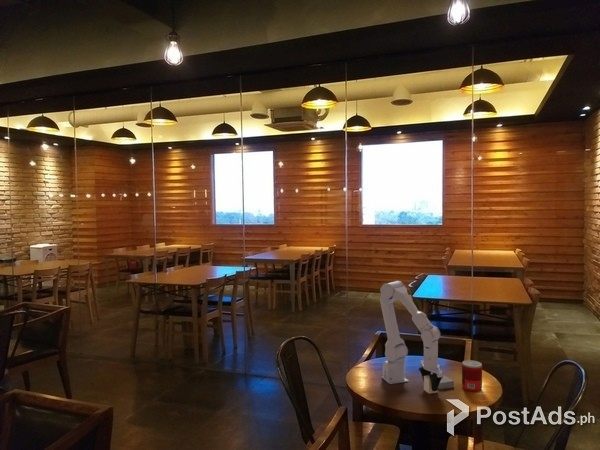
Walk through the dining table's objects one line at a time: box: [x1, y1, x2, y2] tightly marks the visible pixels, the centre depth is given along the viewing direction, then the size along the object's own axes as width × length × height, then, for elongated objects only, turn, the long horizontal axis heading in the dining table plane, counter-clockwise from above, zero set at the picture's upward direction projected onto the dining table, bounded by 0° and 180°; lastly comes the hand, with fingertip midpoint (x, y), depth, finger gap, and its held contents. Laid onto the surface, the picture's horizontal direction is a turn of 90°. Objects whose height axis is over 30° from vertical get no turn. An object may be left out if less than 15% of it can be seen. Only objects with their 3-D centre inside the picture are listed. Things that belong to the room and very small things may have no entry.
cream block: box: [423, 375, 438, 394], centre depth 186 cm, size 4×4×6 cm
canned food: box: [461, 359, 483, 393], centre depth 187 cm, size 8×8×11 cm
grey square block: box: [438, 374, 455, 390], centre depth 192 cm, size 7×7×3 cm
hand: (430, 387), depth 186 cm, fingers open, 6 cm apart
